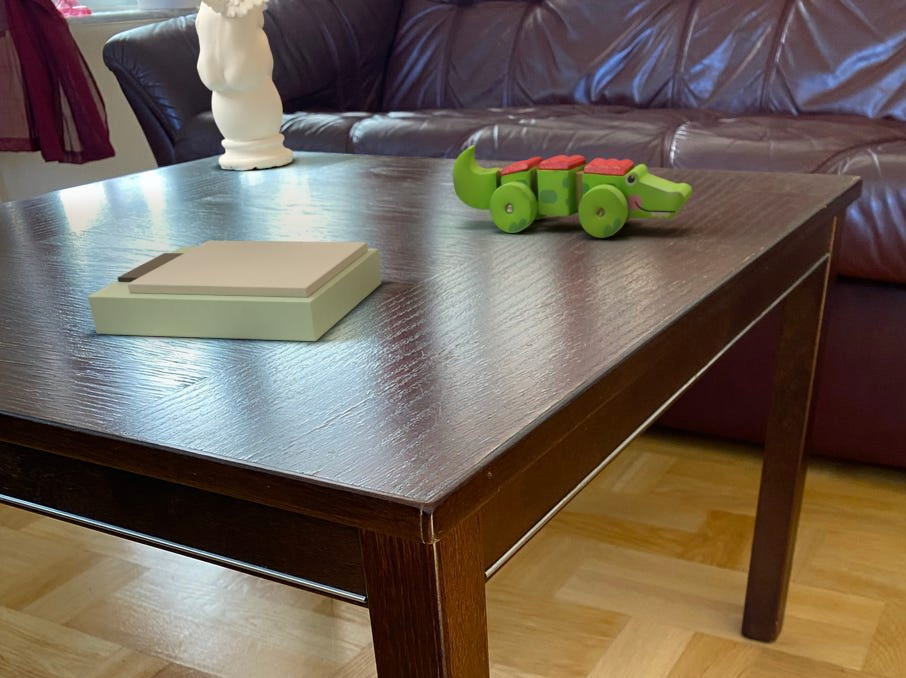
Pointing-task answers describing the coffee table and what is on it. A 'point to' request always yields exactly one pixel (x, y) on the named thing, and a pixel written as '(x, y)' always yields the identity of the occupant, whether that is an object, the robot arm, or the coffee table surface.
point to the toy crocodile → (567, 191)
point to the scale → (240, 291)
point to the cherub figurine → (241, 83)
